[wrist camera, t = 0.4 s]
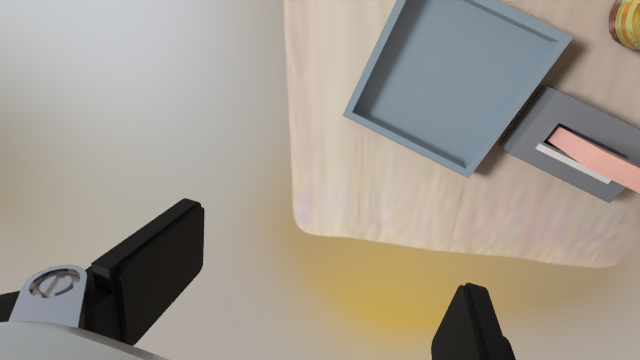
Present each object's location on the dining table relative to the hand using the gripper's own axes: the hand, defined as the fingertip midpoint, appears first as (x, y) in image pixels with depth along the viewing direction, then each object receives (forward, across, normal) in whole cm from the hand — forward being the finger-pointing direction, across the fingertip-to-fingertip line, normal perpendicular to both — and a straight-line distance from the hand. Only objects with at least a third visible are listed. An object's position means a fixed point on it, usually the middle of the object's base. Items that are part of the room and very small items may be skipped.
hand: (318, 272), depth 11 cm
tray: (+30, -6, -5) cm, 31 cm away
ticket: (+29, -20, -2) cm, 35 cm away
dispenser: (+30, -20, -2) cm, 36 cm away
